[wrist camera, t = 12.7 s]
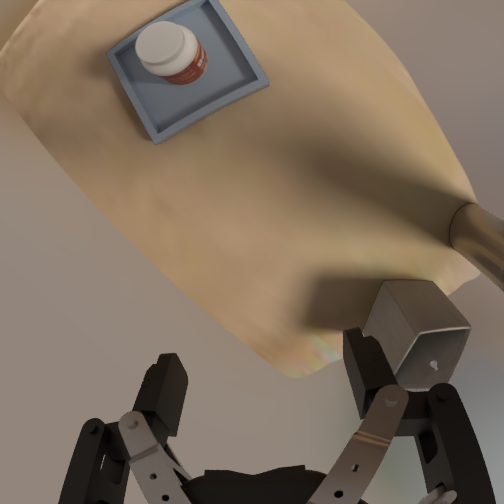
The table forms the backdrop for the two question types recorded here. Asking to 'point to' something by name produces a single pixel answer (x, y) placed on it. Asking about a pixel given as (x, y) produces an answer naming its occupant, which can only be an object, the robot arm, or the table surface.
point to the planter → (418, 332)
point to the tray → (201, 91)
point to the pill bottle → (171, 53)
